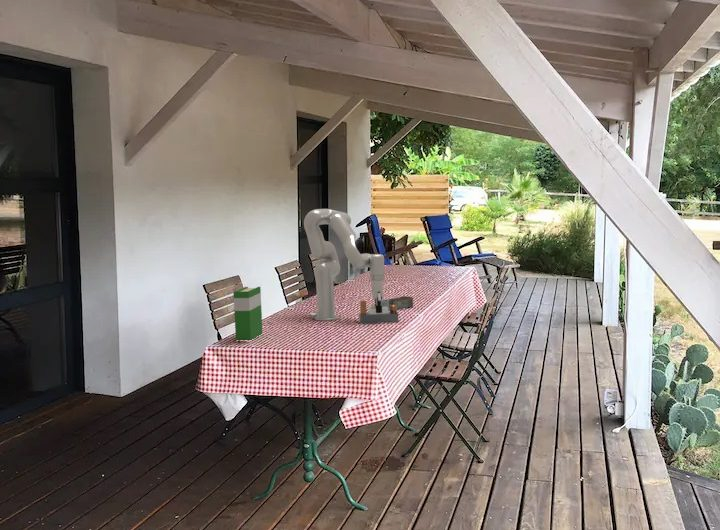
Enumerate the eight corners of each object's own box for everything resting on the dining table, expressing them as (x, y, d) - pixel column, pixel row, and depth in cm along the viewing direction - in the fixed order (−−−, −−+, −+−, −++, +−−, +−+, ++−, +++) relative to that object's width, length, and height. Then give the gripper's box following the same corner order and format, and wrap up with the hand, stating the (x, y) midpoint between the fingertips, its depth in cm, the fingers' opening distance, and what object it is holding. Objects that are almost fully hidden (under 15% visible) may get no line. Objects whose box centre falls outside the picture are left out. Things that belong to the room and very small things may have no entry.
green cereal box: (248, 334, 354) (245, 286, 352) (262, 334, 353) (260, 286, 350) (236, 342, 337) (233, 291, 334) (251, 342, 335) (248, 291, 333)
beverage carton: (380, 310, 415) (380, 299, 414) (404, 306, 427) (404, 295, 426) (389, 311, 409) (389, 300, 408) (414, 307, 421) (413, 296, 420)
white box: (369, 314, 374) (369, 306, 373) (368, 313, 379) (368, 304, 378) (388, 313, 375) (388, 305, 374) (387, 312, 380) (387, 303, 379)
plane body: (360, 323, 373) (359, 302, 372) (359, 321, 380) (358, 300, 379) (398, 322, 375) (397, 300, 373) (396, 319, 381) (396, 298, 380)
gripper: (368, 276, 383) (369, 309, 385) (372, 280, 366) (373, 315, 368) (382, 275, 384) (383, 309, 385) (386, 279, 367) (387, 314, 369)
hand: (378, 311), depth 377 cm, fingers closed on white box, 5 cm apart
